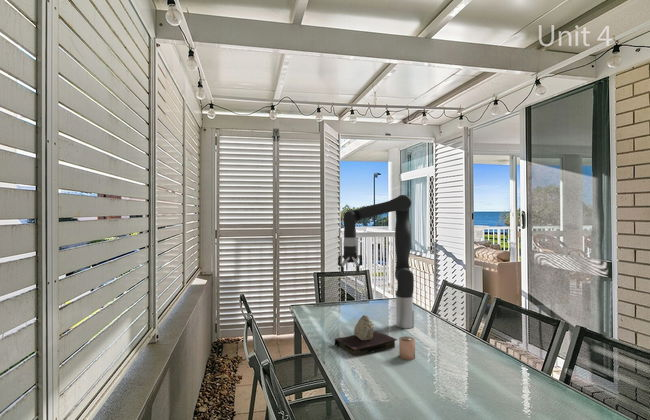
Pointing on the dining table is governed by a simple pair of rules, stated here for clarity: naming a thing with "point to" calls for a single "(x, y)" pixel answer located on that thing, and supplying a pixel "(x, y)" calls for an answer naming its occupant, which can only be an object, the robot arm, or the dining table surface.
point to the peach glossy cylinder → (407, 348)
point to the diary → (366, 343)
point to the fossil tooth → (364, 328)
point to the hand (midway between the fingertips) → (350, 272)
